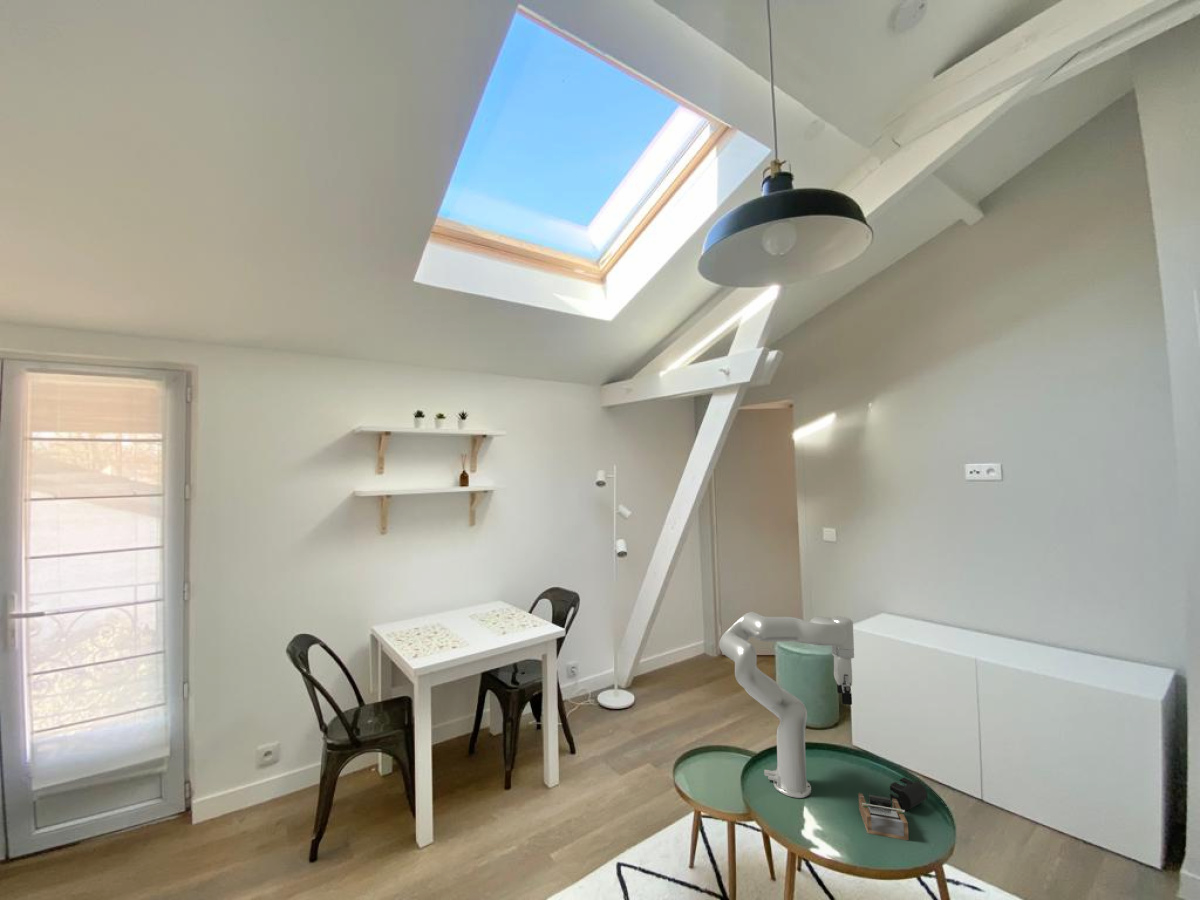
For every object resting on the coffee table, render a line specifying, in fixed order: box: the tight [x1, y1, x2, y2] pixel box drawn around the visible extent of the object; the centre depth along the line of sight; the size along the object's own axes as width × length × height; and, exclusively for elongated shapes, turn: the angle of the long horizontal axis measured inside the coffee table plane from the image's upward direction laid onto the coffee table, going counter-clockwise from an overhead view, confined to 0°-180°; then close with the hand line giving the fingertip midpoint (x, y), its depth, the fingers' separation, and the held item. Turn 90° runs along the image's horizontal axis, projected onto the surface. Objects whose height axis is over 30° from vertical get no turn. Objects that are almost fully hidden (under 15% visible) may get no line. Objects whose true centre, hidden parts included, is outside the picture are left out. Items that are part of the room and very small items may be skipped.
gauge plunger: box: [862, 794, 906, 820], centre depth 157 cm, size 12×6×5 cm, turn 73°
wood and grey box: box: [858, 792, 910, 841], centre depth 156 cm, size 11×12×5 cm
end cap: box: [889, 777, 928, 812], centre depth 166 cm, size 10×7×7 cm
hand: (844, 698), depth 183 cm, fingers open, 9 cm apart
